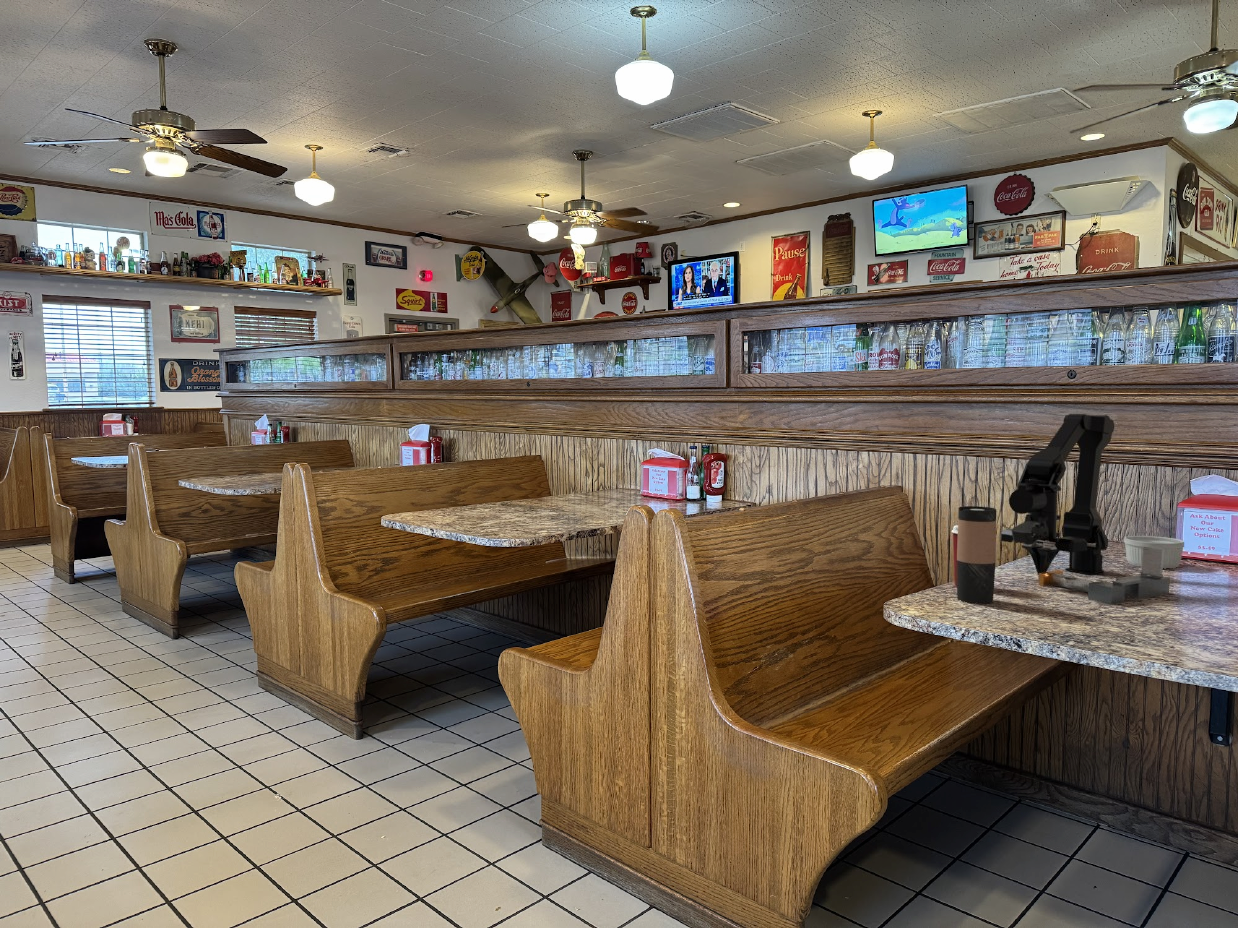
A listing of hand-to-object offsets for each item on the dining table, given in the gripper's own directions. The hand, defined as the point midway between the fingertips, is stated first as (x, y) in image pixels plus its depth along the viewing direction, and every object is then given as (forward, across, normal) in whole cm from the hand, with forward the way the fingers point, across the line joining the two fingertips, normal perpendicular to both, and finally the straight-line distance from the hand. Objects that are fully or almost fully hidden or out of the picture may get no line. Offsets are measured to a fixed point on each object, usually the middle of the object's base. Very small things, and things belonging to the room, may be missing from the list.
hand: (1041, 575), depth 192 cm
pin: (+2, +7, 0) cm, 7 cm away
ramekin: (+2, 0, +45) cm, 45 cm away
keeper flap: (-3, +18, +12) cm, 22 cm away
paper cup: (+2, -5, -19) cm, 20 cm away
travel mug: (+2, +5, -29) cm, 30 cm away
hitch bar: (+2, +18, +4) cm, 19 cm away
